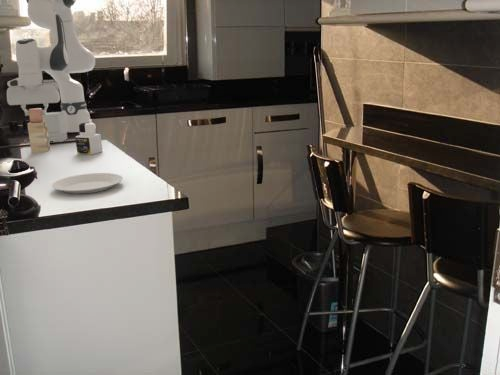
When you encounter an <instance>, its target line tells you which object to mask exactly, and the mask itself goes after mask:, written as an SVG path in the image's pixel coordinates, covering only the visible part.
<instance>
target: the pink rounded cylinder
mask: <svg viewBox="0 0 500 375" xmlns="http://www.w3.org/2000/svg"><path fill="white" fill-rule="evenodd" d="M42 110H43V108H41V107H36V108H29V109H28V111H29V116H28V117H29V122H42V121H43V115H42Z"/></svg>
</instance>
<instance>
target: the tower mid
mask: <svg viewBox="0 0 500 375" xmlns="http://www.w3.org/2000/svg"><path fill="white" fill-rule="evenodd" d="M28 137H29V138H28V139H29V144H30V143H42V142H46V141H48V140H49V136H48V130H47V131H46V132H44V133H29V132H28Z"/></svg>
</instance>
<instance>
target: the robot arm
mask: <svg viewBox="0 0 500 375" xmlns="http://www.w3.org/2000/svg"><path fill="white" fill-rule="evenodd" d="M25 1H26V3H27V15H28V18H29V19H30V21H31V22H32V23H33V24H35V25H36V26H38V27H39V28H43V29H46V30H49V31H50V36H51V38H52V39H53V43H54V44H52V45H50V46H38V43H37V40H36V39H34V38H22V39H18V40H17V41H16V43H15V58H16V63H17V66H18V77H14V79H11V80H9V81H7V86H8V88H7V89H6V102H7V104H8V105H9V106H20V108H21V109H22V111H24V116H25V117H27V116H28V117H30V116H29V110H28V109H27V108H26V107H27V105H39V104H43V107H44V109H42V115H46V114H47V113H48V112H47V110H48V107H49V104H57V103H59V102H60V110H61V112H64V117H65V125H66V132H67V133H80V131H79V124H81V123H86V122H92V123H93V120H92V119H91V116H90V112H89V111H88V108H87V102H86V100H85V95H84V94H85V93H84V86H83V84H82V83H80V82H79V81H77V80H76V79H74V78H72V77H71V75H70V74H76V73H77V74H79V73H80V74H81V73H87V72H90V71H93V69H94V68H95V66H96V57H95V55H94V54H93V52H92V51H90V49H87V47H85V46H84V45H83V44H82V42H81V41H80V39H79V38H78V35H77V32H76V28H75V23H74V17H73V12H72V8H71V7H72V6H74V4H75V3H76V1H77V0H25ZM43 72H46V74H48V75H50V77H52V78H53V79H44V78H43ZM96 129H97V128H96V126H95V130H96Z"/></svg>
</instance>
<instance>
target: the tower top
mask: <svg viewBox="0 0 500 375" xmlns="http://www.w3.org/2000/svg"><path fill="white" fill-rule="evenodd" d="M26 124H27V132H28V134H29V133H44V132H46V131H47V123H46V121H42V122H30V121H29V122H28V123H26Z"/></svg>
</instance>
